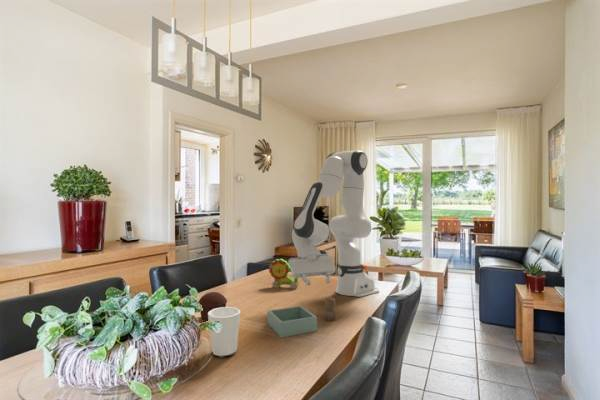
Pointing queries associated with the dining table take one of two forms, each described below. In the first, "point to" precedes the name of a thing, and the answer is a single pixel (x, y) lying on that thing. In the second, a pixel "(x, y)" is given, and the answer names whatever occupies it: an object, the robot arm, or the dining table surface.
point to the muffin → (211, 303)
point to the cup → (225, 330)
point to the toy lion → (282, 274)
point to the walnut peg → (330, 309)
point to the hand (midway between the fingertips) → (318, 283)
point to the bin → (292, 321)
